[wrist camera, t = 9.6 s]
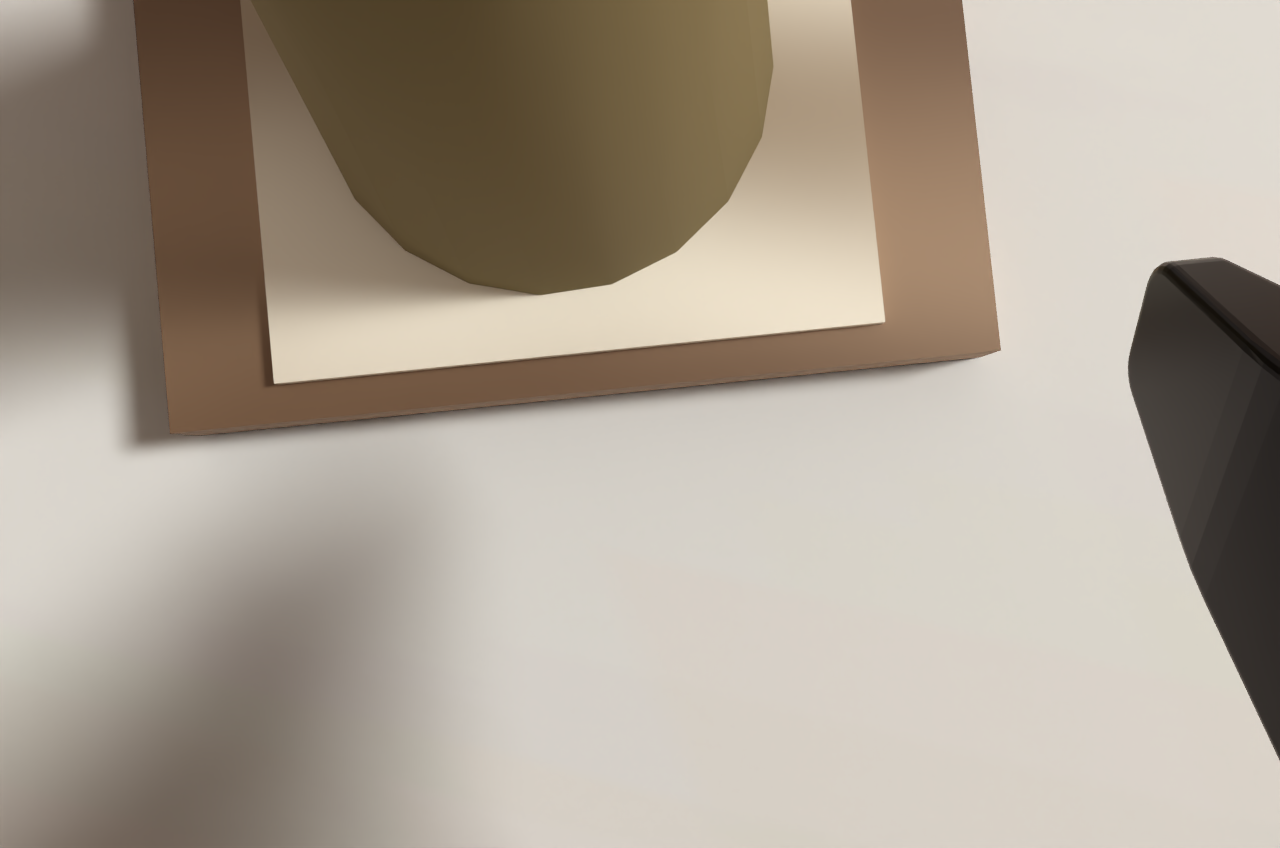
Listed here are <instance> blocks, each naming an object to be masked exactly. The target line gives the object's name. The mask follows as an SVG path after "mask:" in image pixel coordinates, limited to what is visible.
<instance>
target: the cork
mask: <svg viewBox="0 0 1280 848" xmlns="http://www.w3.org/2000/svg"><path fill="white" fill-rule="evenodd" d="M251 2H252V4H253V6H254V8H255V10H256V12H257V14H258V16H259V17H260V19H261V21H262V23H263V25H264V27H265V29H266V31H267V33H268V35H269V37H270V38H271V40H272V42H273V44H274V46H275V48H276V50H277V52H278V54H279V56H280V57H281V59H282V61H283V63H284V65H285V67H286V69H287V71H288V73H289V75H290V77H291V78H292V80H293V82H294V84H295V86H296V88H297V90H298V92H299V94H300V96H301V97H302V99H303V101H304V103H305V105H306V107H307V109H308V111H309V113H310V115H311V117H312V118H313V120H314V122H315V124H316V126H317V128H318V130H319V132H320V134H321V136H322V138H323V139H324V141H325V143H326V145H327V147H328V149H329V151H330V153H331V155H332V157H333V158H334V160H335V162H336V164H337V166H338V168H339V170H340V172H341V174H342V176H343V178H344V179H345V181H346V183H347V185H348V187H349V189H350V191H351V193H352V195H353V197H354V198H355V200H356V201H357V202H358V203H359V204H360V205H361V206H362V207H363V208H364V209H365V210H366V211H367V212H368V213H369V214H370V215H371V216H372V217H373V218H374V219H375V220H376V221H377V222H378V223H379V224H380V225H381V226H382V227H383V229H384V230H385V231H386V232H387V233H388V234H389V235H390V236H391V237H392V238H393V239H394V240H395V241H396V242H397V243H398V244H399V245H400V246H401V247H402V248H403V249H404V250H405V251H407V252H409V253H411V254H413V255H415V256H417V257H419V258H421V259H422V260H424V261H426V262H428V263H430V264H432V265H434V266H436V267H438V268H440V269H442V270H444V271H446V272H448V273H449V274H451V275H453V276H455V277H457V278H459V279H461V280H463V281H465V282H467V283H469V284H475V285H481V286H487V287H493V288H499V289H505V290H511V291H517V292H523V293H530V294H536V295H545V294H552V293H558V292H565V291H571V290H578V289H585V288H591V287H598V286H604V285H611V284H614V283H616V282H618V281H620V280H622V279H624V278H626V277H628V276H630V275H632V274H634V273H636V272H638V271H640V270H642V269H644V268H646V267H648V266H650V265H652V264H654V263H656V262H658V261H660V260H662V259H664V258H666V257H668V256H670V255H672V254H674V253H676V252H677V251H678V250H679V249H680V248H681V247H682V246H683V245H684V244H685V243H686V242H687V241H688V240H689V239H691V238H692V237H693V236H694V235H695V234H696V233H697V232H698V231H699V230H700V229H701V228H702V227H703V226H704V225H705V224H706V223H707V222H708V221H709V220H710V219H711V218H712V217H713V216H714V215H715V214H716V213H717V212H718V211H719V210H720V209H721V208H722V207H723V206H724V205H725V204H726V203H727V202H728V201H729V199H730V197H731V196H732V194H733V192H734V190H735V188H736V186H737V184H738V182H739V180H740V178H741V176H742V174H743V172H744V171H745V169H746V167H747V165H748V163H749V161H750V159H751V157H752V155H753V153H754V151H755V149H756V148H757V146H758V144H759V142H760V140H761V138H762V133H763V127H764V121H765V115H766V109H767V103H768V97H769V91H770V85H771V79H772V73H773V67H774V66H773V55H772V44H771V34H770V23H769V12H768V2H767V0H251Z"/></svg>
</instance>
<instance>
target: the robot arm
mask: <svg viewBox="0 0 1280 848" xmlns="http://www.w3.org/2000/svg"><path fill="white" fill-rule="evenodd" d="M1128 376H1129V383H1130V388H1131V392H1132V395H1133V398H1134V401H1135V404H1136V407H1137V410H1138V413H1139V416H1140V420H1141V423H1142V426H1143V429H1144V432H1145V435H1146V438H1147V441H1148V444H1149V447H1150V450H1151V453H1152V456H1153V459H1154V462H1155V465H1156V468H1157V471H1158V474H1159V478H1160V481H1161V484H1162V487H1163V490H1164V493H1165V496H1166V499H1167V502H1168V505H1169V508H1170V511H1171V514H1172V517H1173V520H1174V523H1175V526H1176V529H1177V532H1178V536H1179V539H1180V541H1181V544H1182V547H1183V550H1184V552H1185V555H1186V558H1187V561H1188V563H1189V566H1190V569H1191V571H1192V574H1193V576H1194V578H1195V580H1196V583H1197V585H1198V587H1199V590H1200V592H1201V594H1202V596H1203V599H1204V601H1205V603H1206V605H1207V607H1208V609H1209V611H1210V614H1211V616H1212V618H1213V620H1214V622H1215V624H1216V626H1217V628H1218V630H1219V633H1220V635H1221V637H1222V639H1223V641H1224V643H1225V645H1226V647H1227V650H1228V652H1229V654H1230V656H1231V658H1232V660H1233V662H1234V664H1235V667H1236V669H1237V671H1238V673H1239V675H1240V677H1241V679H1242V681H1243V684H1244V686H1245V688H1246V690H1247V692H1248V694H1249V696H1250V698H1251V701H1252V703H1253V705H1254V707H1255V709H1256V711H1257V713H1258V715H1259V717H1260V720H1261V722H1262V724H1263V726H1264V728H1265V730H1266V732H1267V734H1268V737H1269V739H1270V741H1271V743H1272V745H1273V747H1274V749H1275V751H1276V754H1277V756H1278V758H1279V760H1280V285H1278V284H1276V283H1274V282H1272V281H1270V280H1267V279H1265V278H1263V277H1261V276H1259V275H1257V274H1255V273H1253V272H1251V271H1249V270H1247V269H1244V268H1242V267H1240V266H1238V265H1236V264H1234V263H1232V262H1230V261H1228V260H1225V259H1223V258H1217V257H1209V258H1199V259H1189V260H1180V261H1170V262H1165V263H1163V264H1161V265H1160V266H1158V267H1157V268H1156V269H1155V270H1154V271H1153V273H1152V274H1151V276H1150V278H1149V281H1148V284H1147V287H1146V291H1145V295H1144V299H1143V303H1142V307H1141V311H1140V315H1139V319H1138V323H1137V327H1136V331H1135V334H1134V338H1133V342H1132V346H1131V350H1130V355H1129V362H1128Z"/></svg>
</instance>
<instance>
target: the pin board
mask: <svg viewBox="0 0 1280 848" xmlns="http://www.w3.org/2000/svg"><path fill="white" fill-rule="evenodd" d="M133 2H134V14H135V25H136V37H137V49H138V61H139V73H140V85H141V96H142V108H143V120H144V132H145V144H146V155H147V167H148V179H149V191H150V203H151V214H152V226H153V238H154V250H155V262H156V274H157V285H158V297H159V309H160V321H161V333H162V344H163V356H164V368H165V380H166V392H167V403H168V415H169V427H170V434H185V435H209V434H219V433H229V432H239V431H249V430H259V429H269V428H279V427H289V426H299V425H309V424H319V423H329V422H339V421H349V420H359V419H369V418H379V417H389V416H399V415H409V414H419V413H429V412H439V411H449V410H459V409H469V408H479V407H489V406H499V405H509V404H519V403H528V402H538V401H548V400H558V399H568V398H578V397H588V396H598V395H608V394H618V393H628V392H638V391H648V390H658V389H668V388H678V387H688V386H698V385H708V384H718V383H728V382H738V381H748V380H758V379H768V378H778V377H788V376H798V375H808V374H818V373H828V372H838V371H848V370H858V369H868V368H878V367H887V366H897V365H907V364H917V363H927V362H937V361H947V360H957V359H967V358H977V357H982V356H985V355H988V354H991V353H994V352H997V351H1000V350H1001V348H1000V339H999V330H998V321H997V312H996V303H995V294H994V285H993V276H992V267H991V258H990V249H989V240H988V231H987V222H986V213H985V204H984V195H983V186H982V177H981V168H980V158H979V149H978V140H977V131H976V122H975V113H974V104H973V95H972V86H971V77H970V68H969V59H968V50H967V41H966V32H965V23H964V14H963V5H962V0H767V2H768V12H769V23H770V34H771V44H772V55H773V66H774V67H773V73H772V79H771V85H770V91H769V97H768V103H767V109H766V115H765V121H764V127H763V133H762V138H761V140H760V142H759V144H758V146H757V148H756V149H755V151H754V153H753V155H752V157H751V159H750V161H749V163H748V165H747V167H746V169H745V171H744V172H743V174H742V176H741V178H740V180H739V182H738V184H737V186H736V188H735V190H734V192H733V194H732V196H731V197H730V199H729V201H728V202H727V203H726V204H725V205H724V206H723V207H722V208H721V209H720V210H719V211H718V212H717V213H716V214H715V215H714V216H713V217H712V218H711V219H710V220H709V221H708V222H707V223H706V224H705V225H704V226H703V227H702V228H701V229H700V230H699V231H698V232H697V233H696V234H695V235H694V236H693V237H692V238H691V239H689V240H688V241H687V242H686V243H685V244H684V245H683V246H682V247H681V248H680V249H679V250H678V251H677V252H676V253H674V254H672V255H670V256H668V257H666V258H664V259H662V260H660V261H658V262H656V263H654V264H652V265H650V266H648V267H646V268H644V269H642V270H640V271H638V272H636V273H634V274H632V275H630V276H628V277H626V278H624V279H622V280H620V281H618V282H616V283H614V284H611V285H604V286H598V287H591V288H585V289H578V290H571V291H565V292H558V293H552V294H545V295H536V294H530V293H523V292H517V291H511V290H505V289H499V288H493V287H487V286H481V285H475V284H469V283H467V282H465V281H463V280H461V279H459V278H457V277H455V276H453V275H451V274H449V273H448V272H446V271H444V270H442V269H440V268H438V267H436V266H434V265H432V264H430V263H428V262H426V261H424V260H422V259H421V258H419V257H417V256H415V255H413V254H411V253H409V252H407V251H405V250H404V249H403V248H402V247H401V246H400V245H399V244H398V243H397V242H396V241H395V240H394V239H393V238H392V237H391V236H390V235H389V234H388V233H387V232H386V231H385V230H384V229H383V227H382V226H381V225H380V224H379V223H378V222H377V221H376V220H375V219H374V218H373V217H372V216H371V215H370V214H369V213H368V212H367V211H366V210H365V209H364V208H363V207H362V206H361V205H360V204H359V203H358V202H357V201H356V200H355V198H354V197H353V195H352V193H351V191H350V189H349V187H348V185H347V183H346V181H345V179H344V178H343V176H342V174H341V172H340V170H339V168H338V166H337V164H336V162H335V160H334V158H333V157H332V155H331V153H330V151H329V149H328V147H327V145H326V143H325V141H324V139H323V138H322V136H321V134H320V132H319V130H318V128H317V126H316V124H315V122H314V120H313V118H312V117H311V115H310V113H309V111H308V109H307V107H306V105H305V103H304V101H303V99H302V97H301V96H300V94H299V92H298V90H297V88H296V86H295V84H294V82H293V80H292V78H291V77H290V75H289V73H288V71H287V69H286V67H285V65H284V63H283V61H282V59H281V57H280V56H279V54H278V52H277V50H276V48H275V46H274V44H273V42H272V40H271V38H270V37H269V35H268V33H267V31H266V29H265V27H264V25H263V23H262V21H261V19H260V17H259V16H258V14H257V12H256V10H255V8H254V6H253V4H252V2H251V0H133Z"/></svg>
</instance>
